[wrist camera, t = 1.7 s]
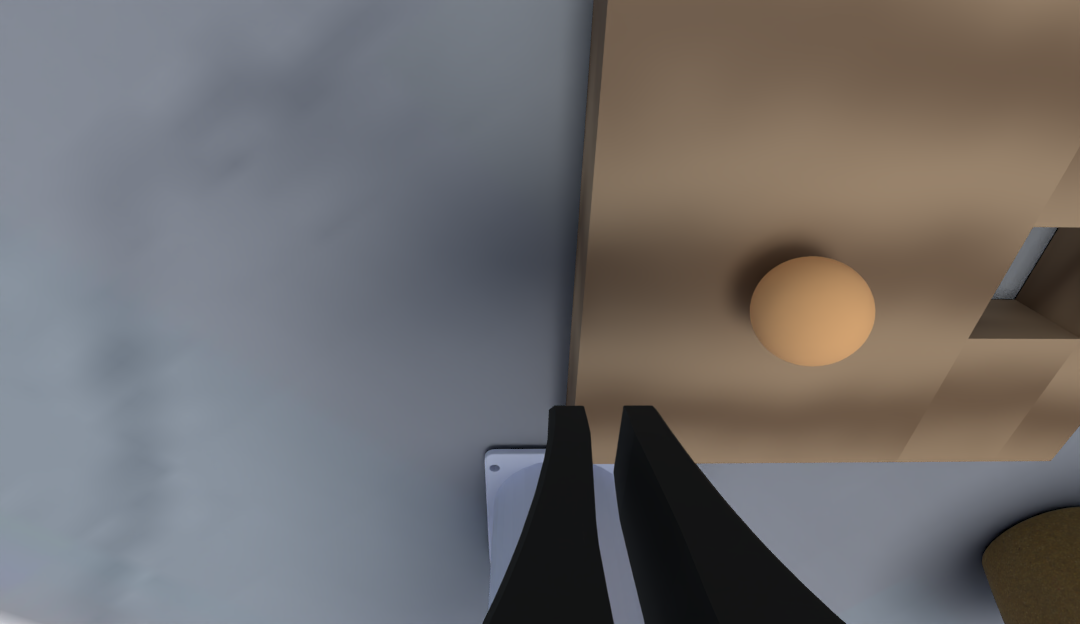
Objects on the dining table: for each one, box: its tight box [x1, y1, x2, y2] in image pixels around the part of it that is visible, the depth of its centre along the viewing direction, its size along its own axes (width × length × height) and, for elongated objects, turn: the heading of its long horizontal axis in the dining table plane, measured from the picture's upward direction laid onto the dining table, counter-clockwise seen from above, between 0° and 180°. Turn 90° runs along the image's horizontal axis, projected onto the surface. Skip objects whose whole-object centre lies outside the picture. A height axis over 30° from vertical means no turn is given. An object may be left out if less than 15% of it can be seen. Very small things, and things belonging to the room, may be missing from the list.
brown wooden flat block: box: [566, 0, 1080, 464], centre depth 19 cm, size 18×22×3 cm
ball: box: [750, 256, 875, 367], centre depth 16 cm, size 4×4×4 cm
